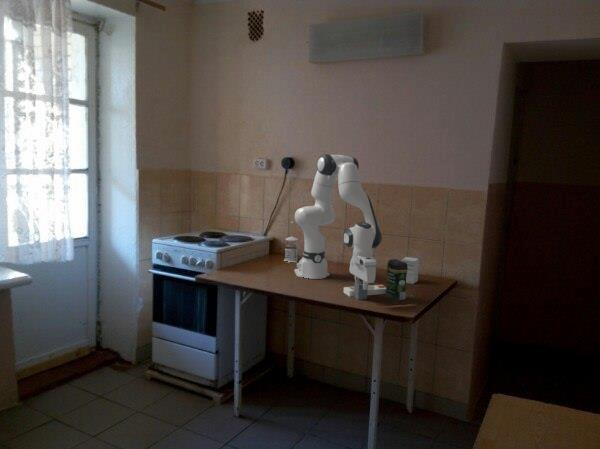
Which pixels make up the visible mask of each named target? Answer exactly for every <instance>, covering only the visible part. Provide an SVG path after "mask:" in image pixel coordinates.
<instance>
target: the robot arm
mask: <svg viewBox="0 0 600 449" xmlns="http://www.w3.org/2000/svg"><path fill="white" fill-rule="evenodd" d="M359 167H360V165H359V161H358V159H357V158H356V157H353V156H348V155H343V154H328V153H326V154H325V153H324V154H322V155H320V156H319V157H318V159H317V163H316V169H317V170H316V174H315V176H314V180H313V184H312V187H311V190H310V191H311V192H310V194H311V197H312V198H313V199H314V200H315V203H314V205H309V206H307V205H306V206H302V207H300V208H298V209H296V211H295V213H294V220H295V223H296V224H297V226H299V227H300V229H301V230H302V233H303V240H304V244H303V245H304V248H303V251H302V257H301V258H300V260H299V261H298V262H296V268H294V274H295V276H296V277H297V276H298V277H297V278H303V277H304V279H308V278H309V280H318V279H319V280H320V279H325V278H327V277H329V276H330V273H329V272H328V260H327V259H326V258H325V257H326V251H325V248H326V247H325V246H326V244H325V243H326V240H325V238H326V237H325V236H324V235H323V234H322V233H321V232H320V230H319V226H327V225H330V224H332V223H334V221H335V220H336V217H337V214H336V210H335V209H334V207H333V206H332V196H333V192H334V188H335V184H336V181H337V186H338V192H339V193H338V194H339V197H340V198H341V200H343V201H344V202H345V203H347V204H349V205H352V206H355V207H356V208H358V209H360V210H361V212H362V213H363V217H364V220H365V222H363V221H362V222H357V223H356V224H354V226H351V227H348V228H346V229H345V231H344V232H343V235H342V238H343V239H342V240H343V244H344V245H345V246H346V247H348V248H353V250H352V257H351V259H350V261H349V273H350V274H351V275H353V276H354V281H355V283H356V282H361V281H360V280H362V282H363V285H362V289H363V290H366V289H367V285H368V286H369V284H371V283H372V284H373V283H374V282H375V281H376V273H377V267H376V266H377V264H378V261H377V259H375V257H374V255H373V249H376V248H377V247H378V246H380V244H381V243H382V240H383V235H382V231H381V230H380V227H379V224H378V221H377V218H376V215H375V211H374V208H373V204H372V201H371V199H370V196H369V195H367V194H366V193H365V191H364V189H363V187H362V180H361V176H360V172H359Z"/></svg>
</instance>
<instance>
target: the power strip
mask: <svg viewBox="0 0 600 449" xmlns="http://www.w3.org/2000/svg"><path fill="white" fill-rule="evenodd" d="M386 287H387V286H385V285H384V284H375V285H368V289H367V296H377V295H386ZM343 293H344V294H345V295H347V296H348V297H354V286H344V287H343Z"/></svg>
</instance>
